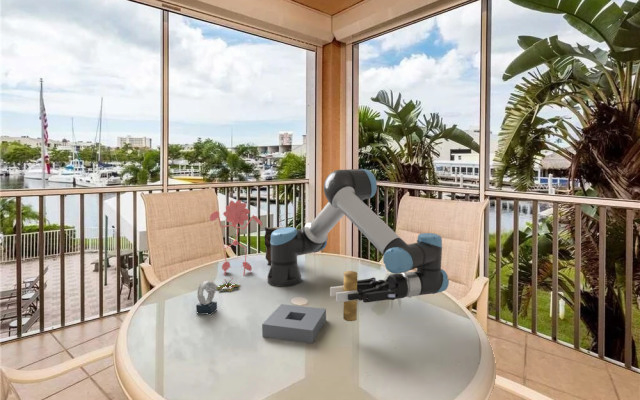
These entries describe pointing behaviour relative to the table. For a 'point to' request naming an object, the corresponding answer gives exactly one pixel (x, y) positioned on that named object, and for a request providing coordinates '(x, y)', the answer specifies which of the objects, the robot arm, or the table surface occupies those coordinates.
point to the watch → (207, 304)
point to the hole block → (294, 323)
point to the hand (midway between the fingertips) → (333, 294)
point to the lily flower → (227, 286)
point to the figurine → (235, 215)
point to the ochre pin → (351, 306)
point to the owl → (267, 242)
